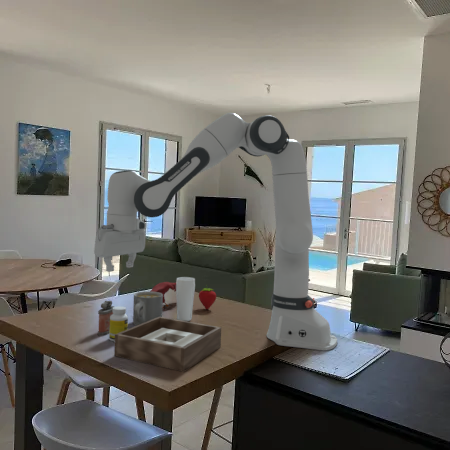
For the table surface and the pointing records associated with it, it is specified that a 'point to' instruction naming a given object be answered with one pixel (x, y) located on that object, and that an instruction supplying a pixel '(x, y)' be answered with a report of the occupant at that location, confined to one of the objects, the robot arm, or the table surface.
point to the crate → (168, 343)
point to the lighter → (105, 318)
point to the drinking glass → (185, 297)
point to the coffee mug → (147, 306)
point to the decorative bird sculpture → (164, 288)
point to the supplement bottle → (118, 322)
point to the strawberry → (207, 297)
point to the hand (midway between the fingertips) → (120, 269)
